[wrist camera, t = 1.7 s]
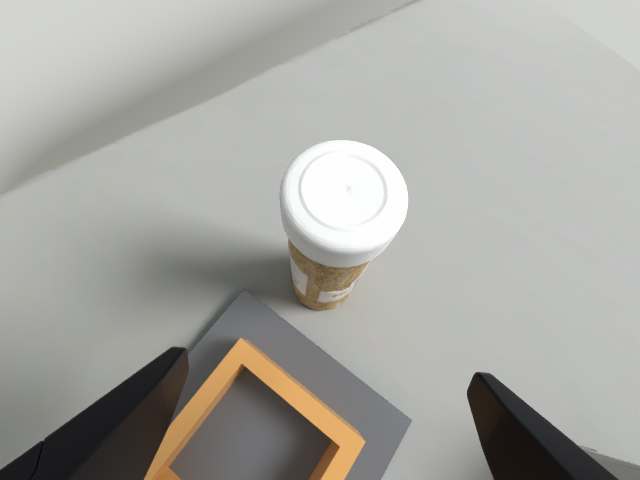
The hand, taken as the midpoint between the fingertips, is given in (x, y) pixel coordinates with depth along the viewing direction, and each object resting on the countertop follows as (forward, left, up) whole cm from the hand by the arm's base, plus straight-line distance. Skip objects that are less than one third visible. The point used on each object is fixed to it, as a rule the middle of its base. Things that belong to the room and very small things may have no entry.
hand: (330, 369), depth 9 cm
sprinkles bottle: (+5, +3, -12) cm, 14 cm away
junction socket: (-6, 0, -12) cm, 14 cm away
